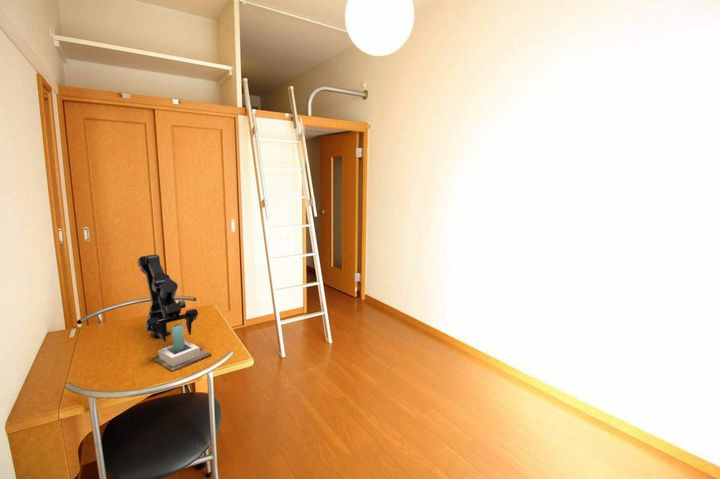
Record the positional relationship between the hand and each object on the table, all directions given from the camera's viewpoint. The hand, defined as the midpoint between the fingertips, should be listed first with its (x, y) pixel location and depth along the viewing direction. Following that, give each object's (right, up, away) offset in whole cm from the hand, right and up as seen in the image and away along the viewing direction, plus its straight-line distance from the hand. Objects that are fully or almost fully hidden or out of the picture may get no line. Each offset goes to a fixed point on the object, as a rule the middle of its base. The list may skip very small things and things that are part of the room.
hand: (178, 338), depth 141 cm
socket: (0, -9, +1) cm, 9 cm away
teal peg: (0, -8, +1) cm, 8 cm away
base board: (0, -9, +1) cm, 9 cm away
